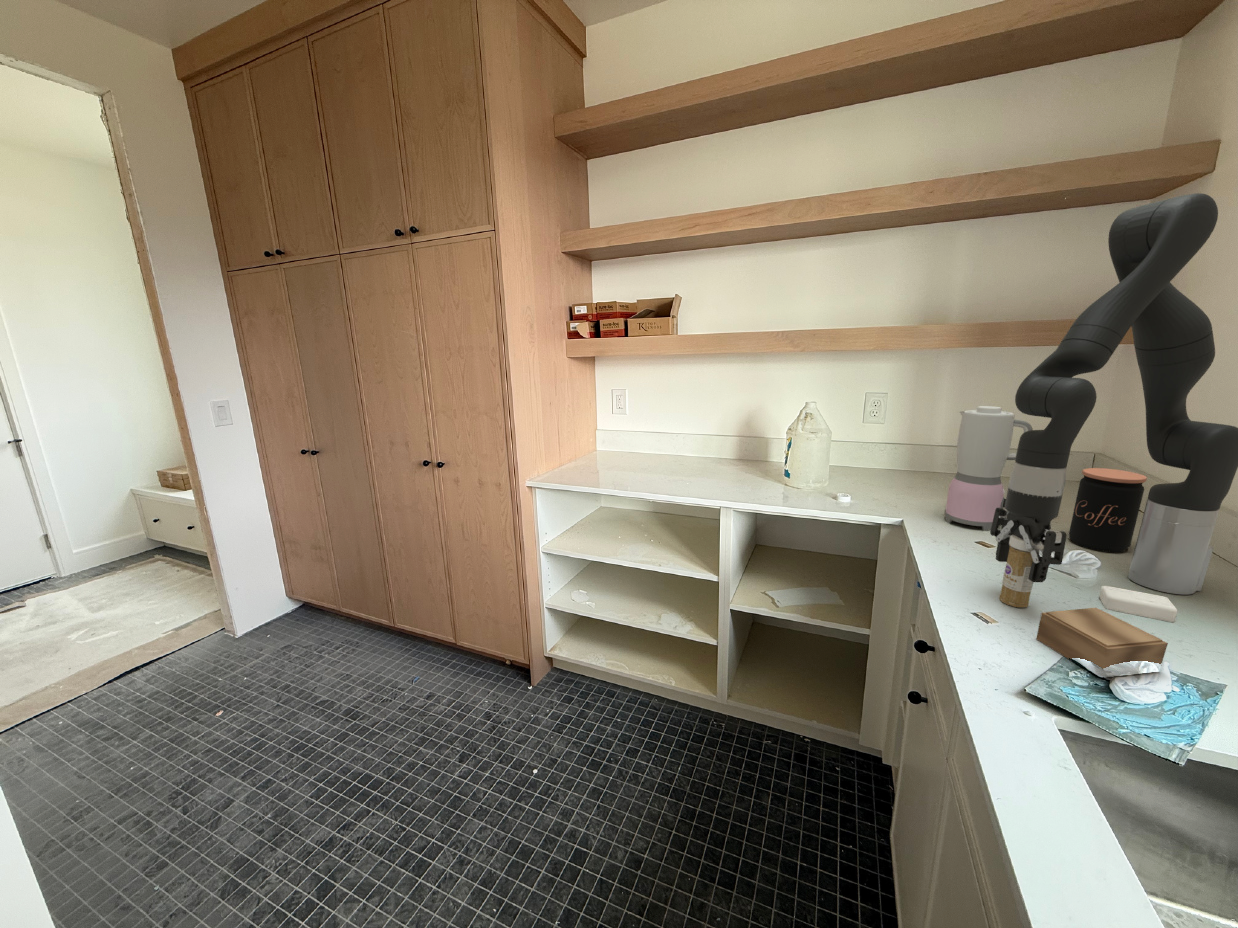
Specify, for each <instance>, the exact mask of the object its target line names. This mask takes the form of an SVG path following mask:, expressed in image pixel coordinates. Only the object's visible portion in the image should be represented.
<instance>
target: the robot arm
mask: <svg viewBox="0 0 1238 928" xmlns="http://www.w3.org/2000/svg"><path fill="white" fill-rule="evenodd" d="M1218 216H1219V208H1218V205H1217V202H1216V200H1215V199H1214V198H1213V197H1212V196H1211V195H1208V194H1207V193H1201V192H1200V193H1199V192H1197V193H1195V192H1194V193H1191V194H1190V193H1189V194H1185V195H1184V194H1183V195H1179V196H1175V197H1171V198H1167V199H1163V200H1159V201H1156V202H1155V201H1154V202H1151V203H1147V204H1144V205H1140V206H1136V207H1135V206H1134V207H1132V208H1130V209H1129V208H1128V209H1126V210H1125V211H1123V212H1121V213H1120V214H1118V216H1116V217H1115V219H1114V221H1112V224H1111V226H1110V229H1109V231H1108V241H1107V242H1108V251H1109V256H1110V259H1111V262H1112V265H1113V269H1114V271H1115V273H1116V276H1117V279H1118V282H1119V283H1117V284H1116V285H1114V286H1113V288H1111V289H1109V290H1108V291H1106V292H1105V293H1104V294H1102V295H1101V296H1100V297H1099V298H1098V299H1096V300H1095V301H1094V302H1093V303H1091V304H1090V305H1088V307H1087V308H1085V309H1084V310H1083V311H1082V313H1081V314H1079V315H1078V317H1077V318H1076V319H1075V320H1074V322H1073V323H1072V325H1070V327H1069V329H1068V331H1067V332H1066V334H1065V335H1064V337H1063V338H1062V340H1061V341H1060V343H1059V345H1058V346H1057V348H1056V349H1055V350H1054V351H1053V352H1052V353H1051V354H1049V356H1047V357H1046V358H1045V359H1044V360H1043V361H1042V362H1041V363H1039V365H1038V366H1036V367H1035V368H1034V369H1033V370H1032V371H1031V372H1030V373H1029V374H1028V375H1027V376H1026V377H1025V378H1024V379H1023V380H1022V382H1021V383H1020V384H1019V386H1018V388H1017V389H1016V392H1015V396H1014V403H1015V405H1016V409H1017V410H1018V411H1019V412H1021V413H1022V414H1024V415H1028V416H1033V417H1041V418H1048V419H1049V418H1050V421H1049V422H1048V424H1047V425H1046V426H1045V428H1044V429H1033V430H1031V431H1027V432H1024V431H1023V433H1022V434H1021V435H1020V436H1019V440H1018V445H1017V450H1016V453H1017V454H1016V459H1015V460H1014V464H1013V467H1012V469H1011V471H1010V475H1009V476H1010V477H1009V482H1008V485H1007V486H1008V487H1007V493H1006V497H1005V499H1006V502H1005V508H996V510H995V514H994V518H993V522H992V526H991V530H989V532H990V536H994V537H995V540H996V542H997V546H996V551H995V561H997V562H1000V563H1007V559H1008V553H1009V549H1010V546H1009V541H1010V537H1011V535H1015V536H1017V537H1018V538H1021V539H1022V540H1024V542H1025V545H1026V548H1027V550H1028V551H1030V552H1031V555H1032V558H1033V561H1034V562H1032V564H1031V569H1030V574H1029V580H1030V581H1032V582H1033V583H1043V582H1044V581H1046V579H1047V575H1048V570H1049V566H1051V565H1053V566H1054V565H1058V566H1059V565H1061V564H1062V563H1063V559H1064V554H1065V546H1066V543H1067V542H1066V540H1067V536H1068V535H1067V533H1066V531H1063V530H1061V531H1059V530H1054V529H1052V525H1051V523H1052V521H1053V520H1054V519H1056V518H1057V517H1058V516H1059V514H1060V513H1059V512H1060V508H1061V504H1062V500H1063V499H1062V498H1063V494H1064V490H1065V486H1066V479H1067V467H1068V463H1069V458H1070V453H1071V449H1072V445H1073V444H1074V442H1075V440H1076V438H1077V437H1078V435H1079V433H1080V431H1081V429H1082V427H1084V424H1085V423H1086V422H1087V419H1088V418H1089V417H1090V415H1091V413H1092V411H1093V410H1094V408H1095V406H1096V403H1097V390H1096V387H1095V385H1093V383H1092V382H1091V381H1089V380H1087V379H1084V378H1080V377H1075V376H1078V375H1079V376H1080V375H1083V374H1089V373H1093V372H1094V373H1095V372H1097V371H1100V370H1101V369H1103V368H1104V367H1105V366H1106V364H1107V363H1108V362H1109V361H1110V358H1112V356H1113V354H1114V352H1115V351H1116V349H1117V348H1118V347H1119V345H1120V344H1121V342H1122V341H1123V339H1124V337H1125V336H1126V334H1127V333H1128V332H1129V330H1130V328H1131V330H1132V331H1131V332H1132V338H1133V346H1134V351H1135V357H1136V361H1137V364H1138V369H1139V373H1140V374H1139V375H1140V377H1141V379H1140V380H1141V384H1142V389H1143V390H1142V392H1143V397H1144V403H1145V404H1144V406H1145V427H1146V428H1145V430H1146V431H1145V433H1146V434H1145V435H1146V447H1147V450H1148V453H1149V455H1150V458H1151V459H1152V460H1153V461H1155V462H1156V463H1158V464H1161V465H1164V466H1167V467H1172V468H1177V469H1182V470H1187V471H1188V475H1187V476H1186V478H1185V479H1184V481H1181V482H1170V483H1167V482H1166V483H1165V482H1164V483H1157V484H1154V485H1152V486H1151V487H1150V488H1149V491H1148V494H1147V499H1146V503H1145V506H1144V511H1143V514H1142V518H1141V523H1140V527H1139V531H1138V535H1137V539H1136V543H1135V547H1134V551H1133V555H1132V558H1131V563H1130V567H1129V570H1128V575H1127V577H1128V578H1129V580H1130V581H1132V582H1134V583H1136V584H1137V585H1139V586H1143V587H1146V588H1148V589H1151V590H1155V591H1159V592H1161V593H1162V592H1163V593H1168V594H1175V595H1193V594H1195V593H1196V592H1201V591H1202V588H1203V585H1204V582H1205V578H1206V574H1207V572H1208V568H1209V565H1210V562H1211V558H1212V554H1213V550H1214V547H1213V545H1212V544H1210V542H1211V539H1212V535H1213V533H1214V532H1213V531H1214V529H1215V526H1216V522H1217V519H1218V514H1219V511H1220V508H1221V505H1222V503H1223V501H1224V499H1225V498H1226V497H1227V495H1228V494H1229V491H1230V489H1231V488H1232V487H1231V486H1232V485H1233V480H1234V479H1235V475H1236V473H1237V471H1238V427H1237V426H1234V425H1229V424H1222V423H1214V422H1205V421H1195V420H1191V419H1190V417H1189V415H1188V411H1187V399H1188V395H1189V394H1190V391H1192V389H1193V388H1194V386H1196V385H1197V383H1199V381H1200V380H1201V379H1202V378H1203V376H1205V374H1206V372H1207V371H1209V368H1210V367H1212V364H1213V362H1214V360H1215V357H1216V346H1215V344H1216V343H1215V338H1214V331H1213V326H1212V322H1211V319H1210V318H1209V317H1208V315H1207V314H1206V313H1205V312H1204V311H1203V310H1202V308H1200V307H1199V306H1198V305H1197V304H1196V303H1195V302H1193V300H1191V299H1190V298H1188V297H1187V295H1185V294H1184V293H1182V292H1181V291H1180V290H1179V289H1177V287H1175V286H1174V285H1173V284H1172V283H1171V282H1172V281H1173V279H1175V277H1176V276H1177V275H1178V274H1179V273H1180V272H1181V271H1182V269H1184V268H1185V266H1187V264H1189V262H1190V261H1191V259H1193V258H1194V257H1195V255H1197V253H1198V252H1200V250H1201V248H1203V247H1204V245H1205V244H1206V243H1207V241H1208V240H1209V238H1210V237H1211V235H1212V233H1213V231H1214V230H1215V228H1216V226H1217V222H1218V218H1219V217H1218ZM1000 526H1001V527H1000ZM999 527H1000V528H1001V529H999ZM1040 542H1041V543H1042V545H1035V544H1038V543H1040ZM1038 551H1040V552H1041V554H1042V556H1041V555H1040V552H1038ZM1053 553H1054V555H1053V557H1052V554H1053Z"/></svg>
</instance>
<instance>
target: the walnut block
mask: <svg viewBox="0 0 1238 928" xmlns="http://www.w3.org/2000/svg"><path fill="white" fill-rule="evenodd" d="M1036 640H1037V641H1039V642H1040V643H1042V644H1043V645H1045V646H1047V647H1049V648H1050V649H1052V650H1053V651H1055V652H1056V653H1058V654H1060V655H1061V656H1063V657H1064V658H1066V659H1068V660H1069V658H1070V659H1072V658H1080V659H1085V660H1087V661H1091V662H1093V663H1094V664H1096V665H1098V666H1099V667H1101V668H1102V669H1103V668H1106V667H1109V666H1110V665H1114V664H1119V663H1123V662H1130V661H1148V662H1154V663H1159V664H1161V663H1162V664H1163V662H1164V657H1165V654H1166V650H1167V647H1168V642H1166V641H1164V640H1163V639H1161V638H1159V637H1157V636H1156V635H1154V634H1151V633H1149V632H1147V631H1145V630H1143V629H1142V628H1138V627H1136V626H1135V625H1132V624H1131V623H1128V622H1126V621H1125V620H1122V619H1121V618H1118V617H1116V616H1114V615H1112V614H1110V613H1108V612H1106V611H1104V610H1102V609H1100V608H1097V607H1088V608H1079V609H1078V608H1077V609H1076V608H1075V609H1067V610H1066V609H1065V610H1056V611H1055V610H1054V611H1045V612H1041V613H1040V619H1039V623H1038V629H1037V634H1036Z"/></svg>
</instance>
